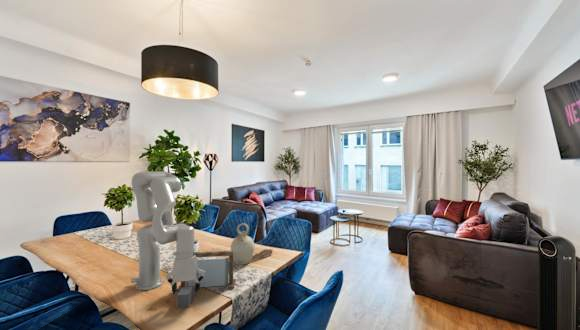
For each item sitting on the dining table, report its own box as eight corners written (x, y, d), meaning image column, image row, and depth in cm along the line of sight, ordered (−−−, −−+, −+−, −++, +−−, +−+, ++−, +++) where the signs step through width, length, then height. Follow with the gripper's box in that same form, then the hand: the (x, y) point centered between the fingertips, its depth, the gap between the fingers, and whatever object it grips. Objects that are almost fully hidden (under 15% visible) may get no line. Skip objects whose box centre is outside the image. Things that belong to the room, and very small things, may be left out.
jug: (236, 255, 162) (236, 220, 162) (257, 257, 159) (257, 221, 159) (226, 264, 147) (226, 225, 147) (249, 266, 144) (249, 226, 144)
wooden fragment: (266, 248, 176) (266, 247, 176) (278, 251, 170) (278, 250, 170) (243, 261, 153) (243, 259, 153) (256, 264, 148) (256, 263, 148)
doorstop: (176, 308, 101) (176, 295, 101) (187, 290, 116) (187, 278, 116) (188, 307, 102) (188, 294, 102) (197, 289, 117) (197, 278, 117)
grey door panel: (186, 288, 118) (186, 260, 118) (186, 286, 119) (187, 259, 119) (228, 285, 121) (228, 258, 121) (228, 284, 122) (228, 257, 122)
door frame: (176, 292, 114) (176, 256, 114) (182, 284, 122) (182, 250, 122) (234, 288, 118) (234, 253, 118) (235, 281, 126) (235, 248, 126)
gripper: (162, 258, 100) (162, 298, 100) (203, 255, 102) (203, 294, 102) (168, 252, 107) (169, 289, 107) (207, 249, 110) (207, 286, 110)
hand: (186, 291), depth 105 cm, fingers open, 9 cm apart
